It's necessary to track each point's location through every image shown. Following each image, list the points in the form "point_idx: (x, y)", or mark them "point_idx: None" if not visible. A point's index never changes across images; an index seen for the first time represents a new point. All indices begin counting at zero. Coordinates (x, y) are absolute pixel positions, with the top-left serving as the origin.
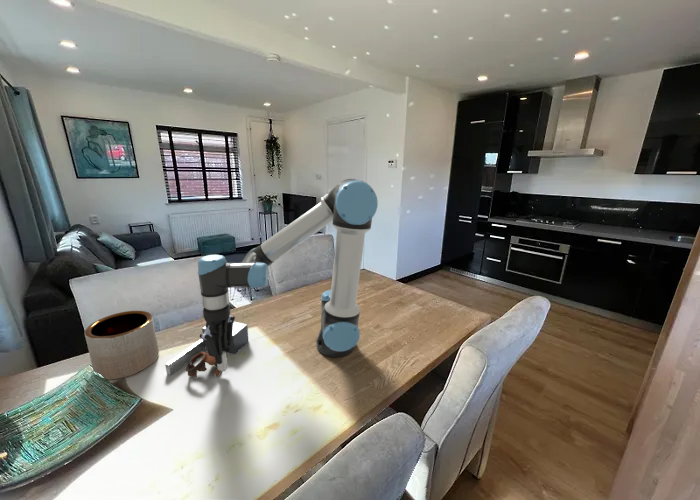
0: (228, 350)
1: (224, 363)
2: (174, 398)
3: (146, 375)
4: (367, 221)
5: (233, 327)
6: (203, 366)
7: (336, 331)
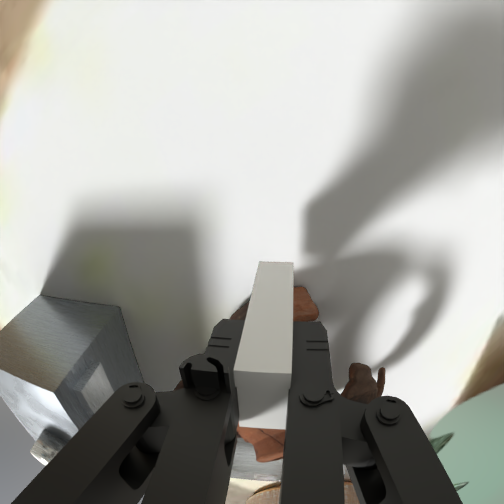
0: (207, 362)
1: (284, 299)
2: (453, 353)
3: None
4: None
5: (29, 410)
6: (356, 394)
7: None
